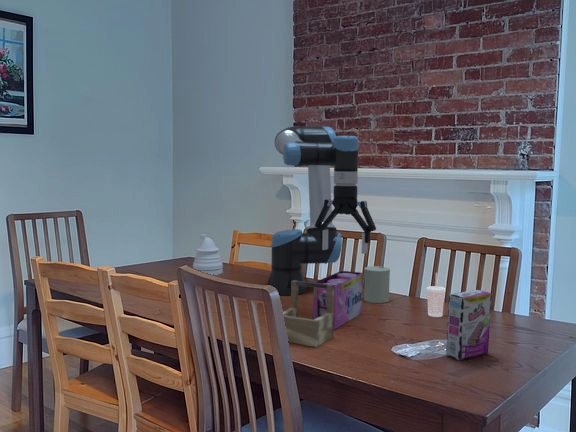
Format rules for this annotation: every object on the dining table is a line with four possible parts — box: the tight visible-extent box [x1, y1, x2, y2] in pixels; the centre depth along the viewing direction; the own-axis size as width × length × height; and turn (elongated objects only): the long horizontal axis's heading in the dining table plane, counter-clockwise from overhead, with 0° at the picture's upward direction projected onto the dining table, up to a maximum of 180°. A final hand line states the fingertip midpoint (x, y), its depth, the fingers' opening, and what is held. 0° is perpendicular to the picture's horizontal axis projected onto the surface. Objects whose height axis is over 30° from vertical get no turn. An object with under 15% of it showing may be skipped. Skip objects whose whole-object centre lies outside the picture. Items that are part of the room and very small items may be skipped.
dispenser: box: [282, 280, 334, 348], centre depth 166 cm, size 11×13×15 cm
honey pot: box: [192, 233, 224, 275], centre depth 255 cm, size 13×13×18 cm
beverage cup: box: [426, 272, 446, 318], centre depth 192 cm, size 6×6×14 cm
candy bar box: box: [445, 289, 492, 361], centre depth 153 cm, size 11×5×16 cm, turn 123°
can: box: [363, 265, 391, 304], centre depth 212 cm, size 9×9×12 cm
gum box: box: [312, 270, 364, 330], centre depth 186 cm, size 24×8×14 cm, turn 152°
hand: (344, 251), depth 189 cm, fingers open, 13 cm apart
